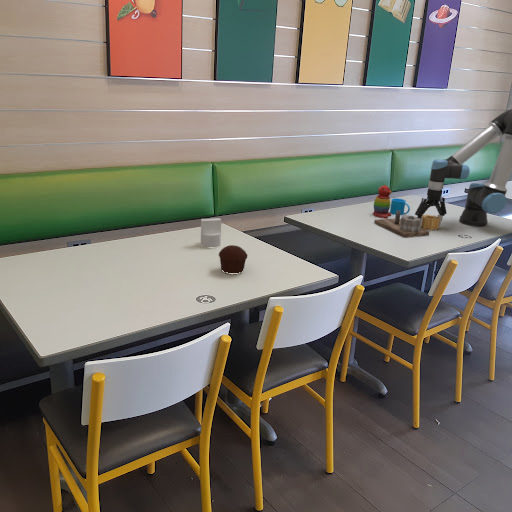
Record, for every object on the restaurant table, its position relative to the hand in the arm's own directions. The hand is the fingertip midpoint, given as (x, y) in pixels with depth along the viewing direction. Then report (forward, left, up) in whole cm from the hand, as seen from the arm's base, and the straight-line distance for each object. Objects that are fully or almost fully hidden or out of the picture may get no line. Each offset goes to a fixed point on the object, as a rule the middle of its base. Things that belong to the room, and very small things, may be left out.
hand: (428, 227), depth 278 cm
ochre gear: (0, 0, 0) cm, 0 cm away
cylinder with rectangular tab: (+125, 0, 0) cm, 125 cm away
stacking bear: (+12, -27, 0) cm, 30 cm away
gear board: (+18, -1, 0) cm, 18 cm away
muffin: (+126, +32, 0) cm, 130 cm away
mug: (-2, -28, 0) cm, 28 cm away
